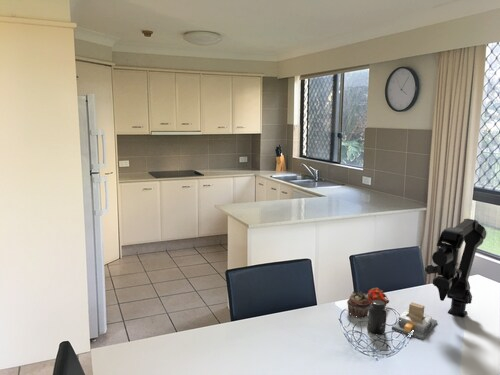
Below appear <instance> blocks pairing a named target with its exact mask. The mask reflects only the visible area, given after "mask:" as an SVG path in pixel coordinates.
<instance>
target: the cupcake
mask: <svg viewBox="0 0 500 375" xmlns="http://www.w3.org/2000/svg"><path fill="white" fill-rule="evenodd" d="M346 303H347V310H348V314H349V313H351V315H350V316H351V317H354V318H356V316H357V317H358V319H363V318H368V315H369V309H370V308H371V304H370V300H369V299H368V295H367V293H364V292H363V291H362V290H358V291H352V292H350V296H349V299H348V300H347V301H346Z"/></svg>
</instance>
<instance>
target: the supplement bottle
mask: <svg viewBox="0 0 500 375" xmlns="http://www.w3.org/2000/svg"><path fill="white" fill-rule="evenodd" d="M387 317H388V312H387V310H386V306H385V303H384V302H383V301H380V300H374V301H373V302H372V304H371V306H370V308H369V311H368V315H367V325H366V326H367V327H366V328H367V329H366V330H367V331H368V332H369V333H370V334H373V335H375V334H377V336H381V335H384V334H385V333H386V327H387V326H386V325H387ZM383 333H384V334H383Z"/></svg>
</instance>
